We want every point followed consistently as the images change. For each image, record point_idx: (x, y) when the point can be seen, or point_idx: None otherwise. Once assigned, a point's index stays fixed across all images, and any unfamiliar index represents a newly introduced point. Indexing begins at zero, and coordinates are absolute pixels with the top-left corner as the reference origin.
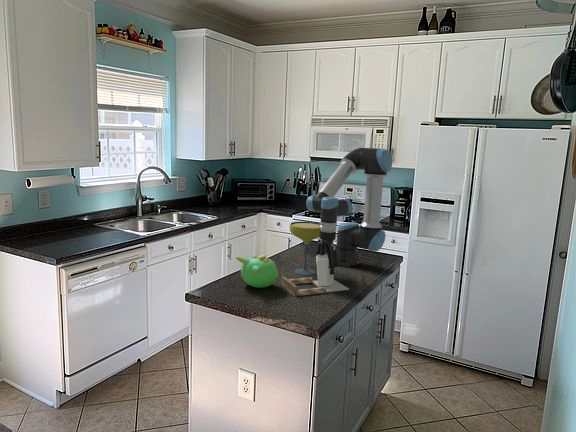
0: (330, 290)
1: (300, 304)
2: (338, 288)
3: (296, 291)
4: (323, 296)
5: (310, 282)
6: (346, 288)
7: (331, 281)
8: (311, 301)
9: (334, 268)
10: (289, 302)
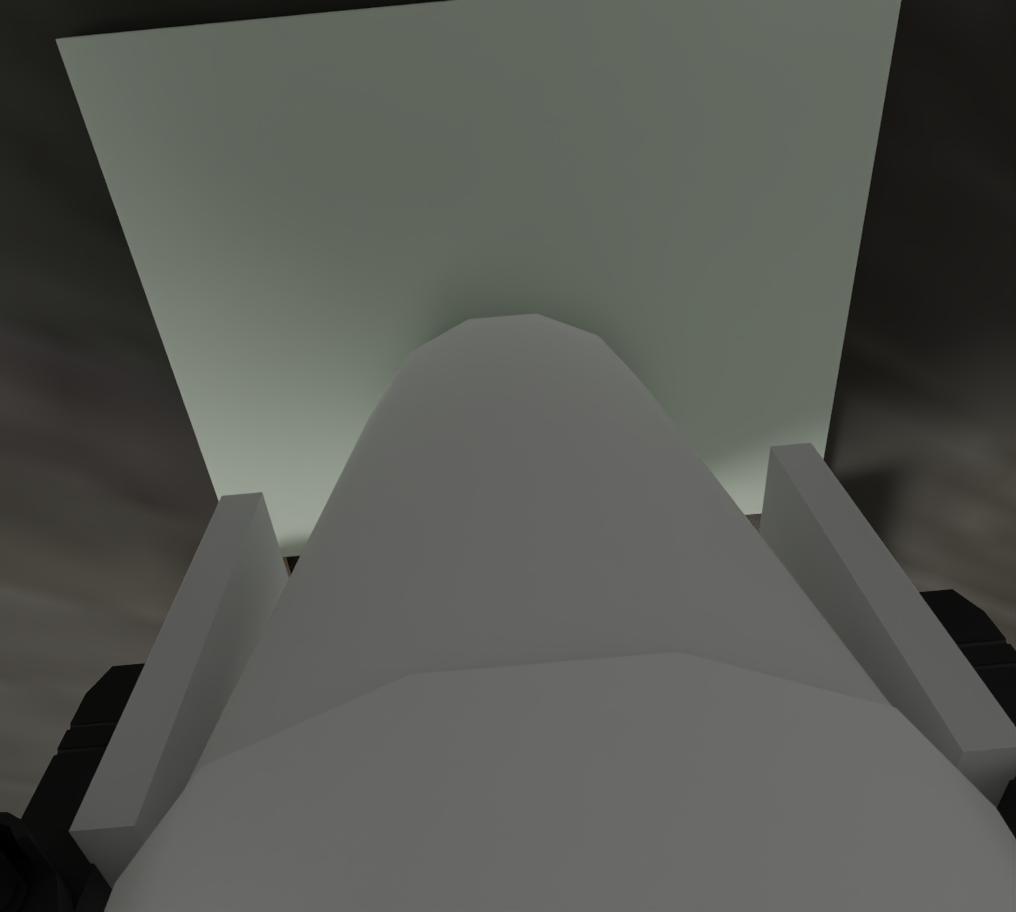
0: (815, 432)
1: None
2: (782, 230)
3: None
4: (937, 587)
5: (288, 573)
6: (861, 22)
7: (640, 385)
8: None
9: (754, 550)
10: None
